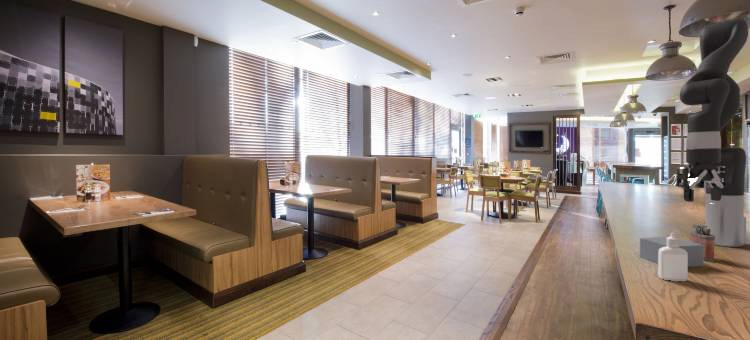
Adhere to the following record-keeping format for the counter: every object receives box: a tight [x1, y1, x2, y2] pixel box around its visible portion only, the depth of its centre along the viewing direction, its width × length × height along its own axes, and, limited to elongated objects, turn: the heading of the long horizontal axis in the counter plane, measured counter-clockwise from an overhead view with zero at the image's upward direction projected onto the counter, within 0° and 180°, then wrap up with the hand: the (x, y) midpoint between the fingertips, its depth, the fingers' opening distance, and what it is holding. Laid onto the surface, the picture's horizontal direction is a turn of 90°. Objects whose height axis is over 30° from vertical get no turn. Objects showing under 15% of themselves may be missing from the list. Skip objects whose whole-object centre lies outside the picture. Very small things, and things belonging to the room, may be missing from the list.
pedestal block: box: [639, 236, 704, 268], centre depth 100 cm, size 10×10×6 cm
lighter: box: [688, 223, 716, 263], centre depth 103 cm, size 8×3×10 cm, turn 168°
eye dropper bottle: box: [657, 232, 689, 282], centre depth 86 cm, size 4×6×12 cm
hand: (702, 201), depth 102 cm, fingers open, 8 cm apart
